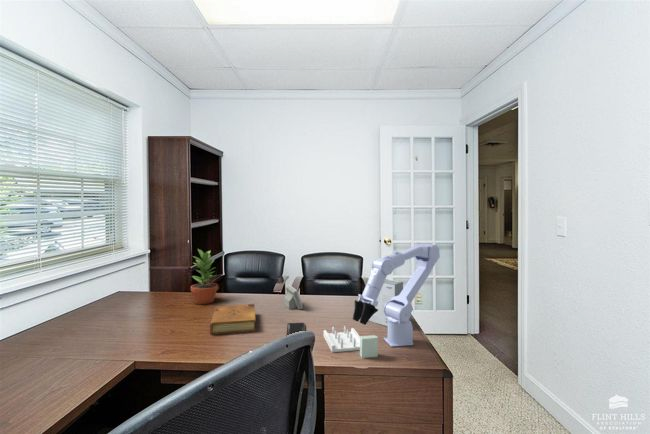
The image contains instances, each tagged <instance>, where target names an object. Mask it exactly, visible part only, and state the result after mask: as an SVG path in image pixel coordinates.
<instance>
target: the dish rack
mask: <svg viewBox="0 0 650 434" xmlns="http://www.w3.org/2000/svg"><path fill="white" fill-rule="evenodd" d="M331 328H332V331H331V332H330V333H329V332H327V330H326V329H323V338H324V339H325V340H324V341H325V342H326V344H327V345H328V347H329V350H330V351H331V353H339V352H349V351H350V352H351V351H352V352H353V351H360V336H361V335H359V333H358V332H357V331H356V329H355V328H354V327H351V329H350V330H349V329H347V326H346V325H344V326H343V331H342V332H341V331H339V332H338V330H335V326H332V327H331Z"/></svg>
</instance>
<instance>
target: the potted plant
mask: <svg viewBox="0 0 650 434" xmlns="http://www.w3.org/2000/svg"><path fill="white" fill-rule="evenodd" d="M197 252H198V254H199V256H200V258H199V257H197V256H193V258H194V259H195V262H193V264H194V265H195V266H196V267H198V268H199V269H200V270H199V269H195V271H196V272H197V273H199V274H200V275H201V276H197V275H192V276H191V277H192V278H193V279H194V281H196V282H198V283H196V284H192V285H191V286H190V292H191V293H192V297H193V300H194V303H195V304H198V305H206V304H212V303H213V302H214V301H215V298H216V295H217V292H218V291H217V290H218V289H219V284H218V283H214V282H210V280H211V278H214V277H216V276H218V274H214V273H215V272H216V271H215V270H214V269H216V267H217V266H216V267H214V266H213V267H212V268H211V266H212V264H213V263H214V262H215V258H213V259H210V258H211V254H210V253H211V250H208V251H206V252H204V251H203V250H202V249H199V248H197ZM212 270H214V271H212Z"/></svg>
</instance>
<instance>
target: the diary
mask: <svg viewBox="0 0 650 434" xmlns="http://www.w3.org/2000/svg"><path fill="white" fill-rule="evenodd" d="M255 307H256V306H255V303H250V304H246V303H245V304H234V305H219V306H218V305H217V306H216V307H214V311H213V314H212V318H211V321H210V325H209V334H210V335H211V336H213V335H226V334H237V333H250V332H251V333H252V332H256V309H255Z"/></svg>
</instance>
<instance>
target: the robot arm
mask: <svg viewBox="0 0 650 434" xmlns="http://www.w3.org/2000/svg"><path fill="white" fill-rule="evenodd" d="M440 255H441V253H440V248H439V246H438V245H437V244H427V243H421V242H417V243H414V244H413V245H412V246H411V247H409V248H407V249H406V250H404V251H402V252H400V251H397V250H394V251H393V252H392V253H390V254H389V255H385V256H384V255H383V257H382V258H380V257H377V258H375V259H374V261H372V262H371V270H370V275H369V278H368V279H369V280H368V279H367V280H368V282H366V284H365V287H364V288H363V289H364V290H363V291H362V294H359V293H358V294H357V295H358V299H355V300H354V310H353V315H352V320H354V321H356V322H359V323H360V324H362V325H364V326H366V325H367V324H368V322H370V321H369V319H370V318H371V317H372V315H373V314H375V313H376V312H377V311H378V309H376V308H375V307H377V305H378V301H376V300H377V298H378V296H379V293H380V291H381V289H382V286H383V284H384V281H385V279H387V276H389V275H392V273H393V271H394V270H395V269H397V268H400V267H402V266H403V265H405V263H406V261H408V260H410V259H413V258H414V260H415V264H416V265H417V268H416V270H415V271H414V272H413V274H412V275H411V276H410V278H409V280H408V281H407V283H406V284H405V285H404V286H403V290H402V291H401V293H400V294H399V295H398V296H395V297H392V298H391V300H390V301H388V302H387V303H386V304H385V306H384V314H385V315H386V316H387V319H388V326H387V335H386V336H387V337H383V340H384V341H385V342H386V343H387V344H388V345H389V346H390V347H391V348H393V347H394V348H395V347H403V346H404V347H405V346H413V345H414V342H413V337H414V331H413V330H414V328H413V324H412V322H411V320H410V318H411V316H412V315H411V314H412V312H413V310H414V306H413V305H412V303H413V300H414V299H415V297H416V296H417V294H418V292H419V291H420V289H421V288H422V287H423V285H424V284H425V282H426V280H427V278H428V277H429V276H430V274H431V273H432V271H433V269H434V266H435V265H436V263H437V262H438V261H439V259H440V257H441V256H440ZM368 302H370V303H368Z"/></svg>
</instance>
